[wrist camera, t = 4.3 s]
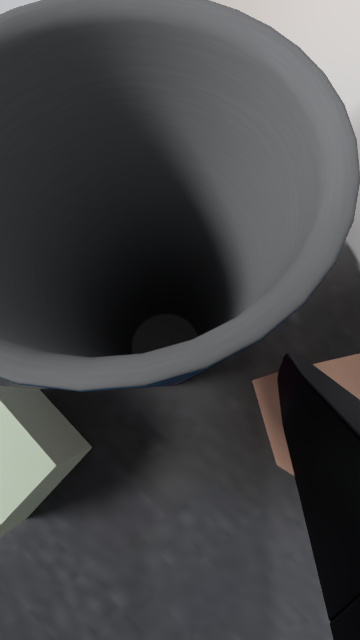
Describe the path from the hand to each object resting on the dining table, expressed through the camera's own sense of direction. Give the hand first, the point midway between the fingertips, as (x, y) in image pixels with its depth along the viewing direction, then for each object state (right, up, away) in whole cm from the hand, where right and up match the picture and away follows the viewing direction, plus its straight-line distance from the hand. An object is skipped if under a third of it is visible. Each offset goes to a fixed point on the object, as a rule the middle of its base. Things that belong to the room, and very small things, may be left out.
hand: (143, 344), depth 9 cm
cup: (0, -1, +10) cm, 10 cm away
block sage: (-8, -7, +8) cm, 13 cm away
